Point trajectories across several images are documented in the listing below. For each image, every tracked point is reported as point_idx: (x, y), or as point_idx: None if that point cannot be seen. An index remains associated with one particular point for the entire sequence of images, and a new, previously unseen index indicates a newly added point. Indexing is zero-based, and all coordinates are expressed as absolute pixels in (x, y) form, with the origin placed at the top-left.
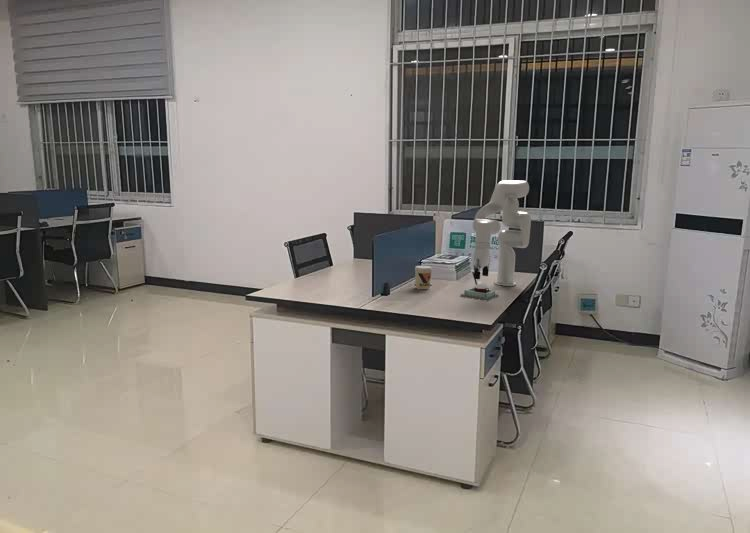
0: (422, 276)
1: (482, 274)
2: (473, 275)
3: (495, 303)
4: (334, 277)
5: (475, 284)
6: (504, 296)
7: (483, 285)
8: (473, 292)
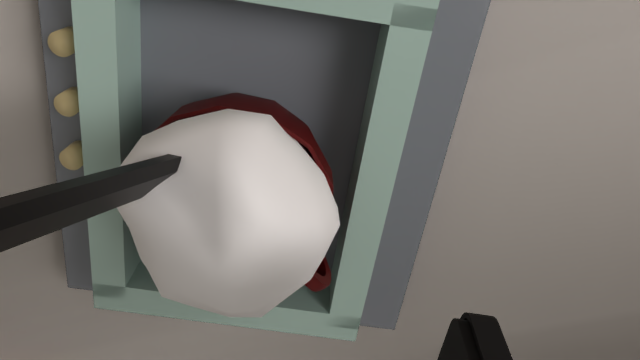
0: None
1: (461, 334)
2: None
3: (52, 352)
4: None
5: (142, 157)
6: (425, 354)
7: (170, 293)
8: (85, 111)
